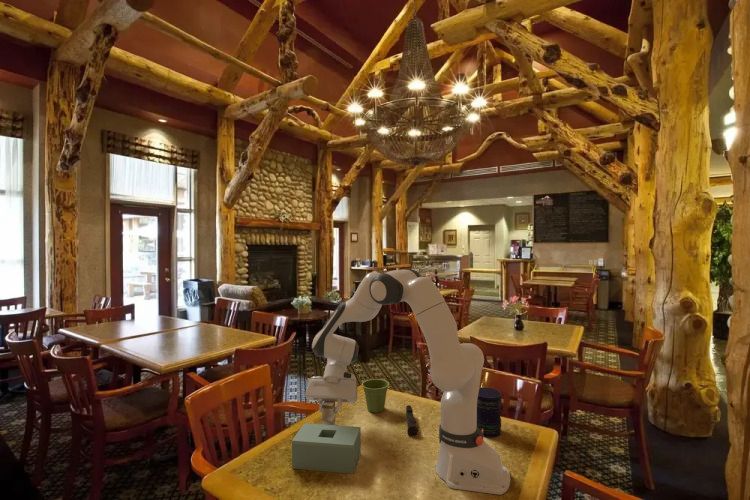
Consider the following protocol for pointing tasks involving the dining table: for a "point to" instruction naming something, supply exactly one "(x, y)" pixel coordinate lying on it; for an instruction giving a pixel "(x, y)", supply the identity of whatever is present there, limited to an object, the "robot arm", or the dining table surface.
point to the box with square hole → (326, 448)
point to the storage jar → (489, 412)
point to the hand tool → (411, 422)
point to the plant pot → (375, 394)
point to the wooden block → (328, 413)
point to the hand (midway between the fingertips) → (328, 412)
